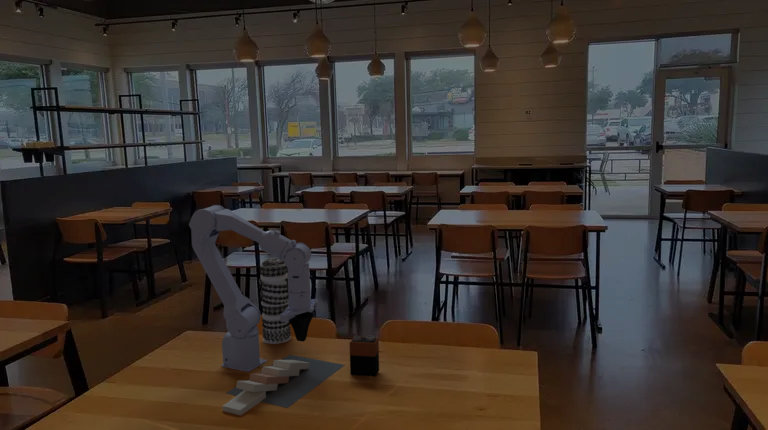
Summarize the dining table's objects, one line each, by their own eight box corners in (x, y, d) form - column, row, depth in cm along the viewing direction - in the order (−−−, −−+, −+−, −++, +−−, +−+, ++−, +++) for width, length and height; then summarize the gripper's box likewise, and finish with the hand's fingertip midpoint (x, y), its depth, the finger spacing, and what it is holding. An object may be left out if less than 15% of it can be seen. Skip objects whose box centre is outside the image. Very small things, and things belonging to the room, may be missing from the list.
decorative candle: (277, 332, 177) (273, 254, 173) (298, 338, 172) (295, 257, 168) (255, 341, 169) (250, 260, 166) (276, 347, 164) (272, 263, 161)
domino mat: (225, 394, 135) (225, 393, 135) (289, 355, 158) (289, 354, 158) (287, 409, 127) (287, 407, 127) (345, 366, 150) (345, 364, 150)
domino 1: (276, 390, 135) (253, 391, 127) (260, 386, 138) (236, 388, 130) (277, 383, 136) (254, 384, 128) (261, 379, 138) (237, 380, 130)
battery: (376, 378, 142) (375, 340, 141) (350, 376, 144) (348, 338, 142) (379, 371, 146) (378, 334, 145) (354, 369, 148) (353, 333, 146)
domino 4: (298, 375, 144) (278, 376, 136) (282, 372, 146) (261, 373, 138) (299, 369, 144) (279, 370, 136) (283, 366, 146) (262, 366, 138)
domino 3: (288, 383, 139) (266, 384, 132) (271, 379, 142) (249, 380, 134) (289, 376, 140) (267, 377, 132) (272, 373, 142) (250, 373, 134)
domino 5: (308, 369, 147) (289, 369, 140) (292, 365, 150) (272, 366, 142) (309, 362, 148) (290, 363, 140) (293, 359, 150) (273, 359, 142)
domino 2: (266, 397, 132) (240, 416, 124) (249, 393, 134) (223, 412, 126) (265, 391, 131) (240, 410, 123) (248, 387, 134) (222, 405, 126)
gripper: (295, 299, 139) (297, 352, 141) (327, 285, 152) (328, 333, 154) (272, 296, 142) (275, 347, 144) (305, 282, 155) (307, 329, 157)
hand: (301, 340), depth 149 cm, fingers closed
